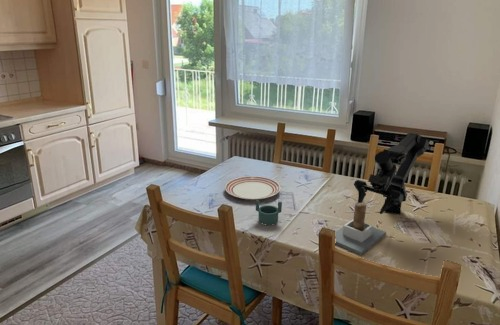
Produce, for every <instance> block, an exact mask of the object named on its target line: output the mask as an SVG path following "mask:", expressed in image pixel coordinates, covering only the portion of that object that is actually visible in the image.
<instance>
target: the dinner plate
mask: <svg viewBox="0 0 500 325" xmlns="http://www.w3.org/2000/svg"><path fill="white" fill-rule="evenodd" d="M281 189H282V188H281V185H280V183H279V182H278V181H276V180H274V179H272V178H269V177H266V176H265V177H264V176H258V175H257V176H256V175H254V176H253V175H250V176H249V175H248V176H239V177H237V178H233V179H231V180H229V181H228V182H227V183H226V184H225V186H224V190H225V191H226V193H228V195H230V196H232V197H234V198H239V199H243V200H249V201H250V200H252V201H256V200H263V199H268V198H272V197H273V196H276V195H277V194H278V193H279V192H280V191H281Z"/></svg>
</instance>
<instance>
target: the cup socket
mask: <svg viewBox="0 0 500 325" xmlns="http://www.w3.org/2000/svg"><path fill="white" fill-rule="evenodd" d="M353 219H354V218H352V219H351V220H349V221H348V222H347V223H345V224H343V226H342V227H340V228H339V229H338V230H336V231H335V232H334V233H336V244H335V245H337V246H338V247H339V246H340V247H342V248H344V249H345V250H349V251H350V252H353V253H355V254H358V255H359V256H362V255H363V254H364V253H366V252H367V251H368V250H369V249H371V247H373V246H374V245H375V244H377V242H379V241H380V240H382V239H383V238H384V237H385V236H386V235H387V231H385V230H383V229H380V228H377V227H374V225H373V224H372V223H371V224H370V223H368V222H365V221H364V228H363V231H360V230H357V229H354V228H353Z"/></svg>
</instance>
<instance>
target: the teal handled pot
mask: <svg viewBox="0 0 500 325" xmlns="http://www.w3.org/2000/svg"><path fill="white" fill-rule="evenodd" d="M277 202H278V203H277V206H274V205H270V204H268V205H262V206H260V199H258V200H255V211H256V212H257V213H258V218H257V219H258V220H259V221H258V223H259V222H260V224H261V223H263V224H266V225H265V226H273V225H272V224H275V225H276V223H277V222H279V214H280V213H282V209H283V208H282V207H283V206H282V204H283V202H282V201H277ZM263 224H262V225H263ZM277 224H278V223H277Z"/></svg>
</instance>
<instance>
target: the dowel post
mask: <svg viewBox="0 0 500 325" xmlns="http://www.w3.org/2000/svg"><path fill="white" fill-rule="evenodd" d="M366 210H367V204H365V203H363V202H362V203H358V202H356V203H355V204H354V211H353V218H352V219H353V228H354V229H357V230H360V231H363V228H364V222H365V219H366V218H365V217H366V212H367V211H366Z"/></svg>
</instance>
